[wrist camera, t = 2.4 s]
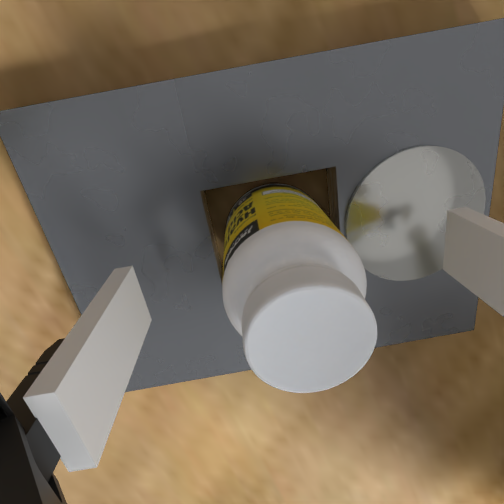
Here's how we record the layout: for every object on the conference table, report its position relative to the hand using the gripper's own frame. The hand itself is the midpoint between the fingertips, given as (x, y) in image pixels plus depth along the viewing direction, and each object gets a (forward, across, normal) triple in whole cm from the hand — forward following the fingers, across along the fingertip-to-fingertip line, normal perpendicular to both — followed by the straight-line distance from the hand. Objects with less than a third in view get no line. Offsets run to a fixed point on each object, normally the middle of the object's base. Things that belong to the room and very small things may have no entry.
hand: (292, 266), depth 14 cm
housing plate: (+5, 0, 0) cm, 5 cm away
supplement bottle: (+5, 0, 0) cm, 5 cm away
